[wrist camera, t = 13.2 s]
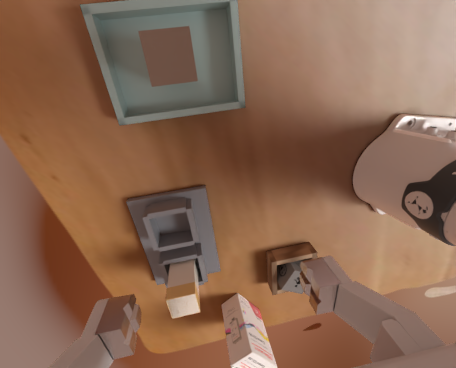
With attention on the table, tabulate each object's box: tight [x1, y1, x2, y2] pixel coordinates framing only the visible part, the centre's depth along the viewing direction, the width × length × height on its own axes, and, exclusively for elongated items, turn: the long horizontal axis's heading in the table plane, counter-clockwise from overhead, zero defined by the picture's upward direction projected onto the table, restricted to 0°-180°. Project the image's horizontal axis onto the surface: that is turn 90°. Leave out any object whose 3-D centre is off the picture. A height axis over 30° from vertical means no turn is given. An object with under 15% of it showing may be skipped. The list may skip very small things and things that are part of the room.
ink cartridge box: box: [221, 293, 277, 368], centre depth 42 cm, size 9×5×15 cm, turn 39°
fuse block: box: [126, 185, 221, 287], centre depth 36 cm, size 12×18×4 cm, turn 7°
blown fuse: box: [138, 26, 198, 87], centre depth 22 cm, size 4×4×9 cm
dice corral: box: [266, 242, 317, 295], centre depth 44 cm, size 9×9×3 cm
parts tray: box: [80, 0, 245, 125], centre depth 26 cm, size 16×12×3 cm
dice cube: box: [277, 259, 305, 294], centre depth 43 cm, size 5×5×5 cm
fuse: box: [166, 258, 200, 319], centre depth 35 cm, size 4×4×9 cm
